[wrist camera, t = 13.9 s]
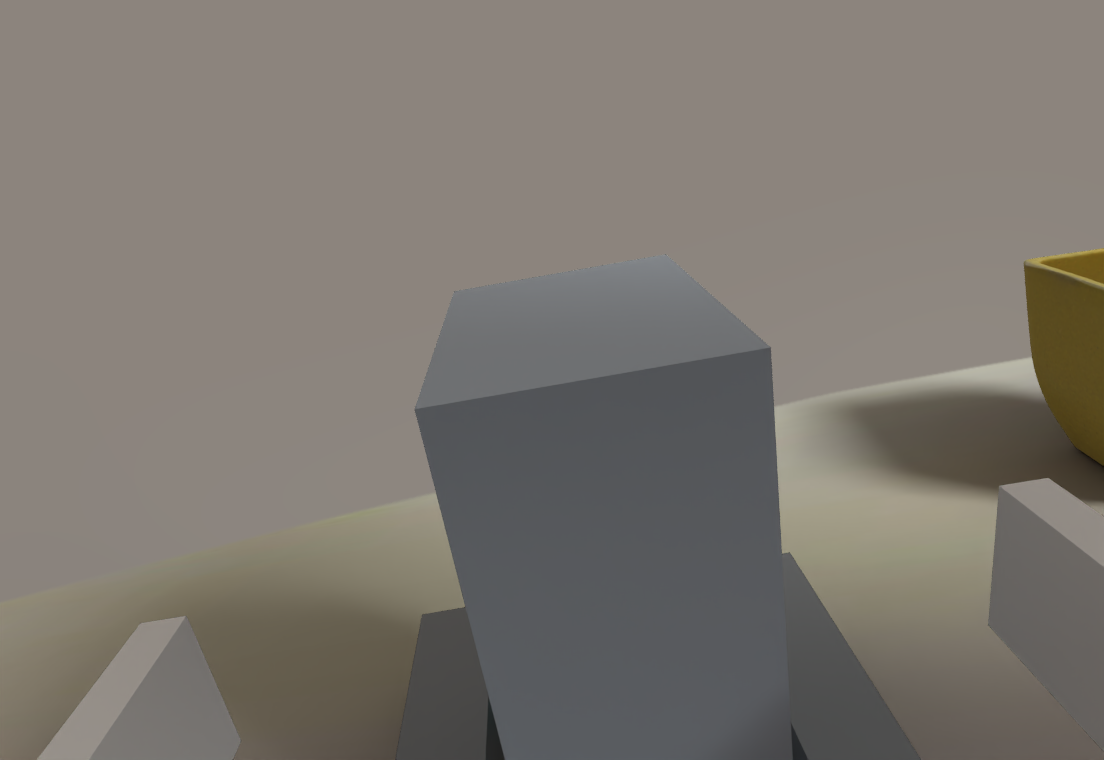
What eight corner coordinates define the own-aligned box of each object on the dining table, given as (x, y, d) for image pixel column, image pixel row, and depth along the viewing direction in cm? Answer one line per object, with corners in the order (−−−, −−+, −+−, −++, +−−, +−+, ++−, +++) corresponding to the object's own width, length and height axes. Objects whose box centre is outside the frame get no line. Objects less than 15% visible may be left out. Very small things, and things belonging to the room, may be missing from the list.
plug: (707, 705, 22) (657, 246, 17) (805, 1000, 15) (770, 347, 10) (555, 731, 22) (457, 281, 17) (576, 1038, 15) (414, 409, 10)
